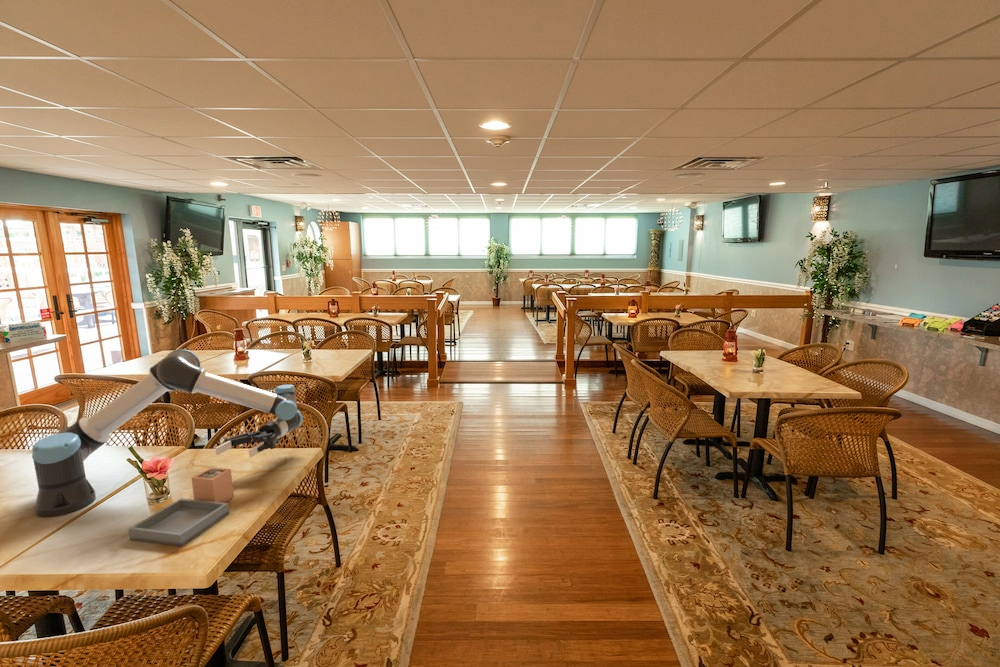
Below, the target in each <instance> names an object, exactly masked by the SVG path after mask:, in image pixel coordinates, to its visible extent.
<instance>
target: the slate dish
mask: <svg viewBox="0 0 1000 667" xmlns="http://www.w3.org/2000/svg"><path fill="white" fill-rule="evenodd" d="M229 514H230V506H229V503H228V502H224V503H221V502H212V501H202V500H194V498H193V499H192V498H183V497H181V498H179V499H177V500H176V501H174V502H172V503H170V504H169V505H166V506H165V507H164V508H162V509H159V510H158V511H156V512H155V513H153V514H151V515H150V516H148V517H146V518H145V519H143V520H141V521H139V522H137V523H136V524H134V525H132V526H130V527H129V528H128V535H129V540H130V541H137V542H145V543H152V544H161V545H168V546H175V547H176V546H177V547H183V546H185V545H186V544H187V543H189V542H191V541H192V540H194V539H195V538H196V537H198V536H199V535H200V534H202V533H204V532H205V531H206V530H208V529H209V528H211V527H212V526H214V525H215V524H216V523H218V522H219V521H221V520H222V519H223V518H225V517H226V516H228V515H229Z"/></svg>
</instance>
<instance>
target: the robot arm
mask: <svg viewBox="0 0 1000 667" xmlns="http://www.w3.org/2000/svg"><path fill="white" fill-rule="evenodd" d="M295 389H296V388H295V385H293V384H282V385H278V386H276V387H275V389H274V392H271V391H267V390H264V389H261V388H258V387H255V386H252V385H249V384H246V383H242V382H239V381H235V380H233V379H230V378H226V377H223V376H219V375H216V374H214V373H210V372H208V371H206V369H205V368H204V367H201V361H200V358H199V356H197V354H196V353H195V352H193V351H191V350H188V349H183V348H182V349H181V348H180V349H177V350H173V351H170V352H169V353H168V354H167V355H166V356H164V358H162V359H161V360H160V361H158V362H156V363H155V364H154V365H153V366H151V367H150V368H149V372H148V375H146V376H145V377H143V378H142V379H141V380H140V381H138V382H137V383H136V384H133V386H131V387H130V388H129V389H127V390H126V391H124V392H123V393H121V394H120V395H119V396H118V397H116V398H114V399H113V400H112V401H111V402H109V403H108V404H107V405H106V406H104V407H103V408H101V409H100V410H98V411H97V412H96V413H94V414H93V415H91V416H90V417H81V418H80V419H78V420H77V421H76V422H75V423H73V424H71V425H70V426H69V427H66V428H65V429H64V430H62V431H61V432H60V433H55V434H52V435H48V436H47V437H43V438H40V439H39V440H37V441H36V442H35V443H34V444H33V446H32V448H31V452H32V453H31V458H32V460H33V463H34V464H33V466H34V469H35V471H34V472H35V476H36V481H37V487H38V492H37V495H36V500H35V505H34V512H35V513H36V514H35V516H37V515H38V516H37V517H41V516H50V517H55V516H56V515H57V516H62V515H65V513H66V514H68V513H72V511H73V512H75V511H78V510H80V508H81V509H83V508H85V507H87V506H88V504H89V505H91V504H92V503H93V502H94V501H95V500H96V499H97V498H96V496H97V494H96V491H95V489H94V488H93V486H92V485H91V483H90V482H89V480H88V479H87V476H86V470H85V464H84V462H85V460H87V458H88V457H89V456H90V455H92V454H93V453H94V452H95V451H97V450H98V449H99V448H100V447H102V446H103V445H105V444H106V443H107V442H108V441H109V440H110V434H112V433H113V432H115V431H116V430H117V429H119V428H120V427H122V426H123V425H124V424H125V423H127V422H128V421H129V420H130V419H132V418H133V417H135V416H136V415H138V414H139V413H141V411H143V410H144V409H145V408H147V407H148V406H150V405H151V404H152V403H154V402H155V401H156V400H157V399H159V398H161V396H164V395H165V393H166V392H175V391H177V390H178V391H180V392H181V391H182V392H184V393H190V394H195V393H199V394H202V395H206V396H210V397H213V398H217V399H219V400H224V401H226V402H231V403H233V404H237V405H241V406H244V407H247V408H251V409H254V410H258V411H261V412H265V413H268V414H272V415H275V416H276V418H274V419H272V420H270V421H269V422H266V423H264V424H263V425H261V426H260V427H259V429H258V430H257V431H255V432H252V431H246V432H245V433H241V434H238V435H235V436H231V437H227V438H225V439H224V443H222V444H220V445H218V446H216V447H215V455H218V456H219V455H220V454H222V453H225V452H227V451H229V450H231V449H232V448H233V447H235V446H236V447H237V446H240V445H244V444H247V443H248V444H253V443H258V444H257V445H255V446H253V447H251V448H249V449H248V456H249V458H253V457H254V456H256V455H258V454H260V453H261V452H264V451H266V450H269V449H270V450H274V448H275V446H276V445H277V443H278V442H279V441H280V440H281V437H283V436H285V435H286V434H288V433H291V432H292V431H294V430H296V429H297V428H298V427H300V426H301V425H302V424H303V422H304V416H303V414H302V412H301V411H300V410H299V409H298V404H297V398H296V397H297V396H296V390H295ZM84 506H85V507H84ZM82 507H83V508H82ZM61 514H62V515H61Z"/></svg>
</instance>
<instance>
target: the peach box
mask: <svg viewBox="0 0 1000 667" xmlns="http://www.w3.org/2000/svg"><path fill="white" fill-rule="evenodd" d="M232 478H233V477H232V469H231V468H221V467H209V468H206V469H205V470H204V471H202V472H200V473H198V474H196V475H194V476H192V477H191V485H192V492H193V500H202V501H212V502H221V503H227V502H228V501H229V500H231V499H233V497H234V486H233V479H232Z"/></svg>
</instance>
